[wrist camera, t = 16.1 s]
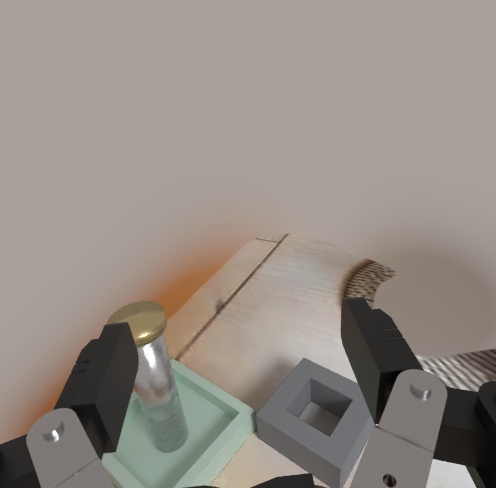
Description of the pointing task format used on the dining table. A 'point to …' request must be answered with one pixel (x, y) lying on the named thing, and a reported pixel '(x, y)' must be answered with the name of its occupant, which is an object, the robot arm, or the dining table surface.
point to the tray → (195, 448)
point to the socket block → (309, 438)
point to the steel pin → (155, 375)
